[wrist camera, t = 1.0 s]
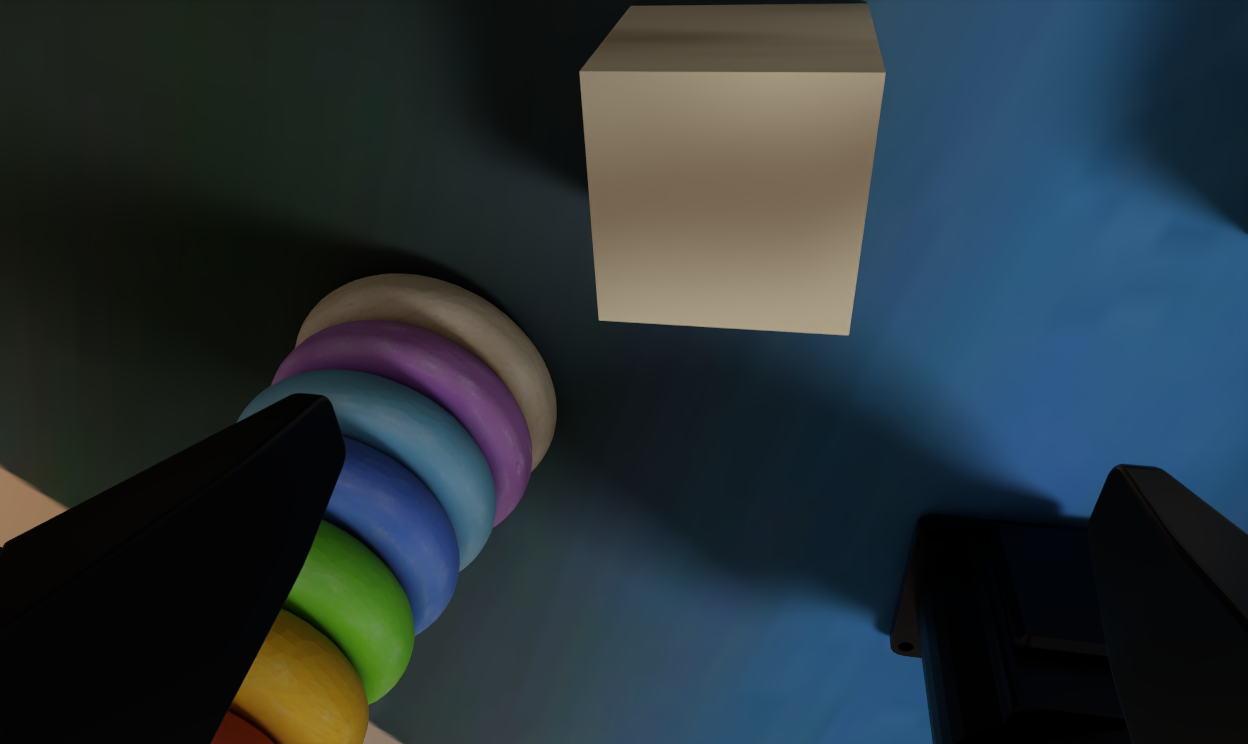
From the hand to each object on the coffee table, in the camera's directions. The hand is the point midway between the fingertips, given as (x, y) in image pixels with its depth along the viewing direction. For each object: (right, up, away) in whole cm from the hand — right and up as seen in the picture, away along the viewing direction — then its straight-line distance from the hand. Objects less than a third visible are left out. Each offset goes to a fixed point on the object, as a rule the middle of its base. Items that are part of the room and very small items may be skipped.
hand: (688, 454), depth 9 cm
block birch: (+2, +7, +9) cm, 12 cm away
